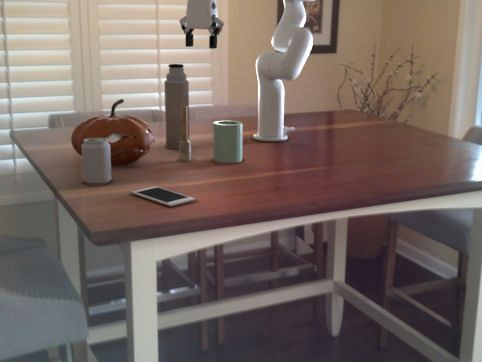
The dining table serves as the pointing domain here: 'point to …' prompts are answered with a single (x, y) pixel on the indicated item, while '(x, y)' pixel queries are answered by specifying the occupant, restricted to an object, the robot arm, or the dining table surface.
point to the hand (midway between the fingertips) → (201, 47)
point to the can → (96, 161)
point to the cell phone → (163, 196)
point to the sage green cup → (227, 141)
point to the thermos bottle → (175, 104)
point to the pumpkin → (116, 135)
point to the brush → (184, 139)
